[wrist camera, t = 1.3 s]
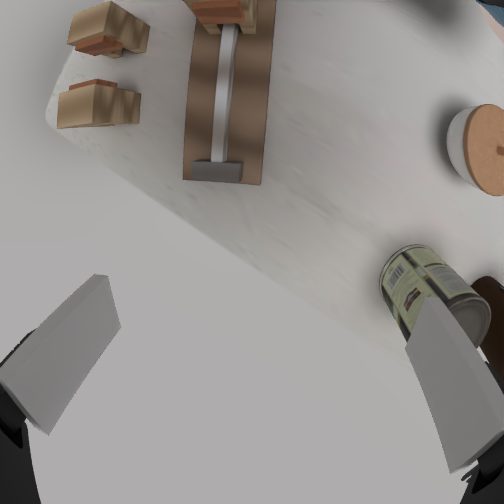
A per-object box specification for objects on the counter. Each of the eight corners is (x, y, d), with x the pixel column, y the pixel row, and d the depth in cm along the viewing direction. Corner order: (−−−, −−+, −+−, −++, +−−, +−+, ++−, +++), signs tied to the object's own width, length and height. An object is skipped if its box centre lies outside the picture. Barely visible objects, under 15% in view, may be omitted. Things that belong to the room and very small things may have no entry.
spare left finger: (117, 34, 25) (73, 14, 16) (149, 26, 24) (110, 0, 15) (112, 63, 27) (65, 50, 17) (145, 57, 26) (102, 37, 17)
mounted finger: (213, 8, 22) (188, -32, 13) (258, 7, 22) (248, -37, 13) (209, 40, 24) (180, 5, 15) (254, 39, 24) (243, 1, 14)
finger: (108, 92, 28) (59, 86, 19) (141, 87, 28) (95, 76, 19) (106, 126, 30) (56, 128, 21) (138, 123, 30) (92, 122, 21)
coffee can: (430, 305, 36) (470, 366, 23) (373, 309, 37) (402, 380, 24) (446, 244, 32) (503, 294, 19) (385, 242, 33) (433, 301, 20)
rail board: (205, -9, 22) (195, -25, 18) (277, -10, 21) (276, -27, 17) (186, 177, 32) (173, 184, 28) (260, 183, 32) (257, 190, 28)
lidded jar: (426, 170, 29) (468, 184, 20) (438, 94, 24) (480, 86, 16) (480, 192, 28) (521, 210, 20) (491, 124, 24) (534, 128, 15)
